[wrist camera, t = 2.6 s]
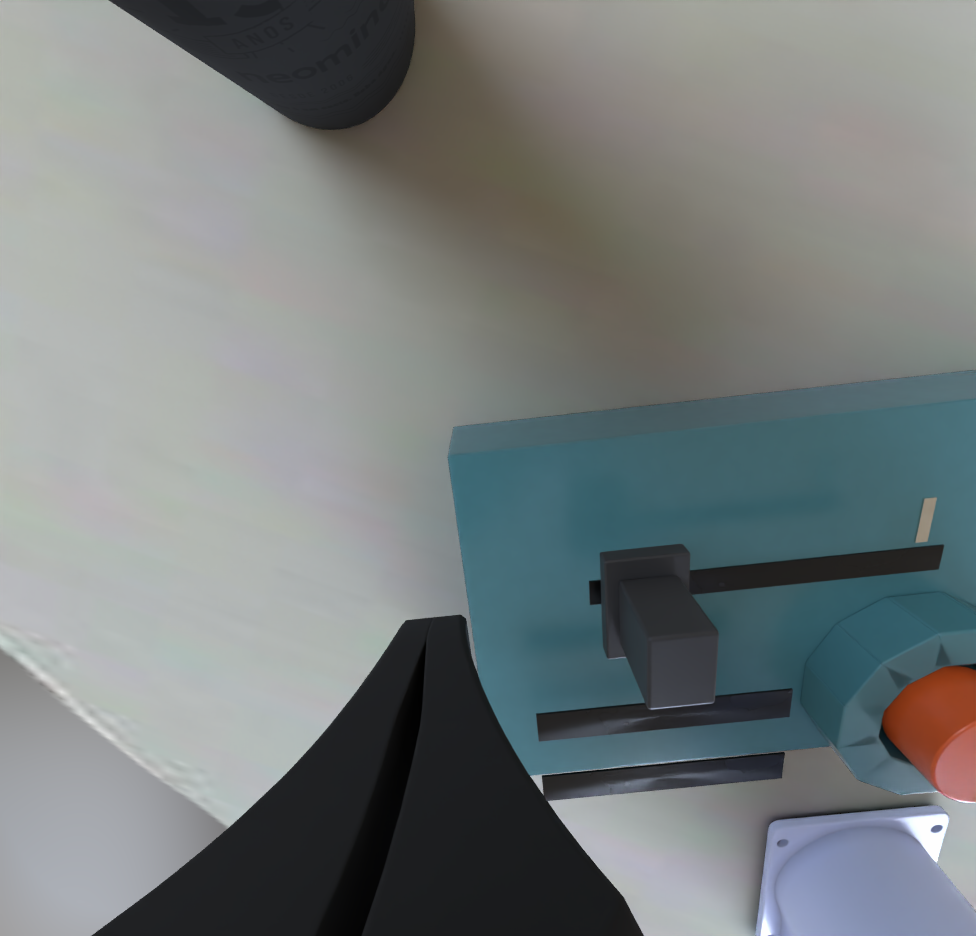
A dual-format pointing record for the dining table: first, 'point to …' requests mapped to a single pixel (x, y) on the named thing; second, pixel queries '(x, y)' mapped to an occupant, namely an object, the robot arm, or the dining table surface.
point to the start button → (938, 729)
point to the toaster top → (724, 705)
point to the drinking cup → (296, 50)
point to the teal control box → (725, 560)
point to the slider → (658, 625)
